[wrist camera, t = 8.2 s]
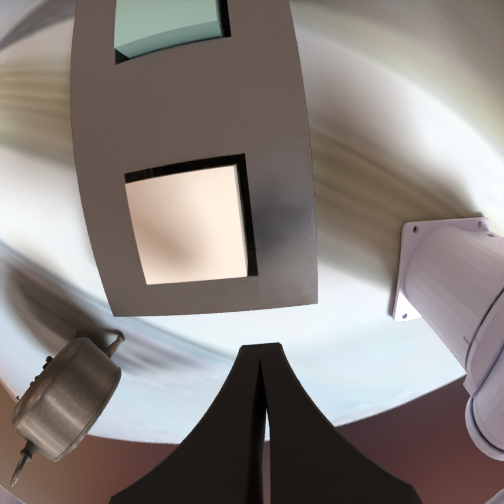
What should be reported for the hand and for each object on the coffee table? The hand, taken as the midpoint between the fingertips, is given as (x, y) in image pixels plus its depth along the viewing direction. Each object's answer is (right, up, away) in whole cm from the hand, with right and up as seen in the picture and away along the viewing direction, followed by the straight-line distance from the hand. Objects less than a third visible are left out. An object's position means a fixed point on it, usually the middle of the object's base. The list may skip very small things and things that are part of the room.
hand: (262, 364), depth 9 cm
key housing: (-4, +12, +6) cm, 14 cm away
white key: (-3, +6, +7) cm, 10 cm away
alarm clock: (-15, -5, +12) cm, 20 cm away
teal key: (-5, +17, +3) cm, 18 cm away
